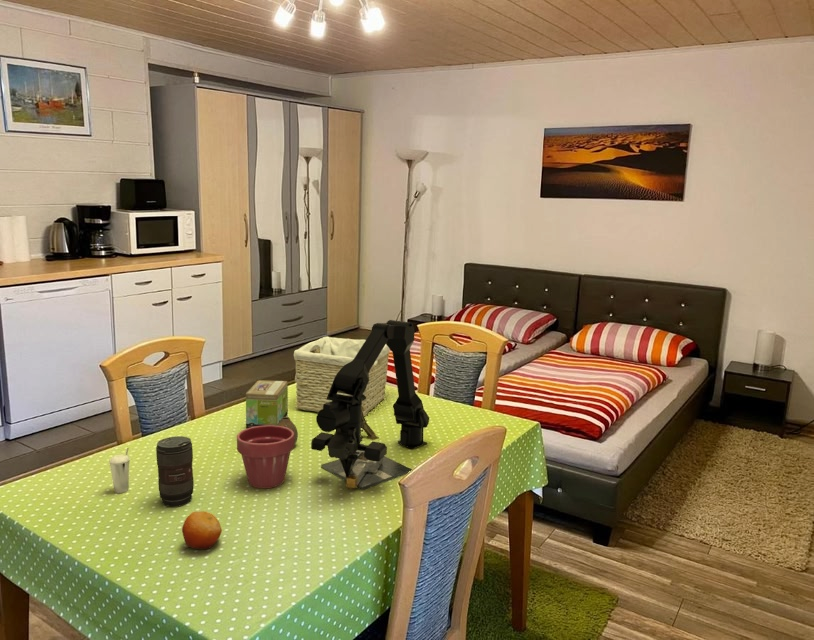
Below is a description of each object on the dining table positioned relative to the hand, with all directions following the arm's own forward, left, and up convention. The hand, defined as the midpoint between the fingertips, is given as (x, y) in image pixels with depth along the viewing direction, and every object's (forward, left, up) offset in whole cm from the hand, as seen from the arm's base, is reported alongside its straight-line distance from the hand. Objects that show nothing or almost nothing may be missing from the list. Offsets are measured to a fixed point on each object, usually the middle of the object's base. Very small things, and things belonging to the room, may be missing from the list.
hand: (347, 477), depth 166 cm
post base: (-9, -4, -2) cm, 10 cm away
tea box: (-3, -46, -2) cm, 46 cm away
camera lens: (+37, -19, -2) cm, 41 cm away
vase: (-1, -32, -2) cm, 32 cm away
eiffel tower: (-21, -25, -2) cm, 33 cm away
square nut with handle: (-5, -1, -1) cm, 5 cm away
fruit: (+41, +4, -2) cm, 41 cm away
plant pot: (+15, -15, -2) cm, 21 cm away
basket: (-38, -53, -2) cm, 65 cm away
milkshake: (+45, -33, -2) cm, 56 cm away
